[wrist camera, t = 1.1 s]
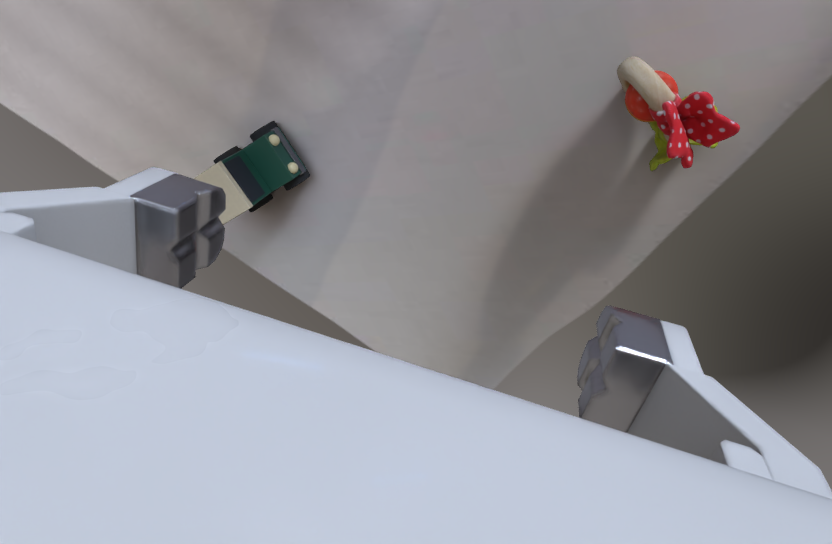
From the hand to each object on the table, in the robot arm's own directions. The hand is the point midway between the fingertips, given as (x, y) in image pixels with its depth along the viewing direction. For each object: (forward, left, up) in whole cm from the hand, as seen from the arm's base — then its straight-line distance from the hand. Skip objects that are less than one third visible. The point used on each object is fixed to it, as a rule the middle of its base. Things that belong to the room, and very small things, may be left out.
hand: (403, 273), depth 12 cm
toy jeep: (+3, -25, -38) cm, 45 cm away
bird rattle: (+6, +9, -38) cm, 40 cm away
